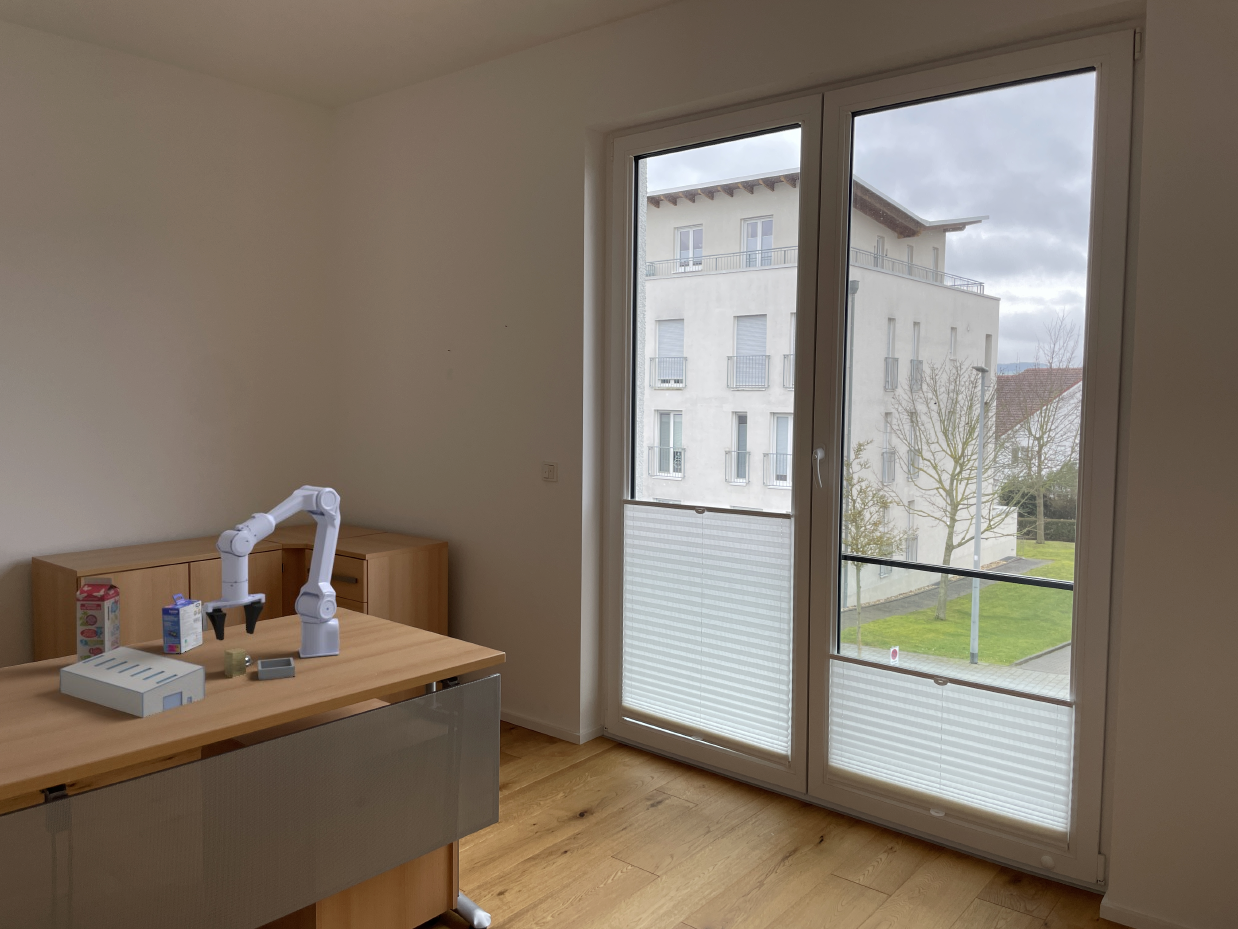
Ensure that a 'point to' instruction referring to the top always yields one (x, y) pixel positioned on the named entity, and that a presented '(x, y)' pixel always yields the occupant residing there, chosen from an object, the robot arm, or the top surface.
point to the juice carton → (97, 617)
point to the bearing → (249, 663)
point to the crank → (247, 658)
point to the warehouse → (134, 681)
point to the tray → (276, 668)
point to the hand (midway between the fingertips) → (235, 636)
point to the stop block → (235, 662)
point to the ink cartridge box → (182, 625)
